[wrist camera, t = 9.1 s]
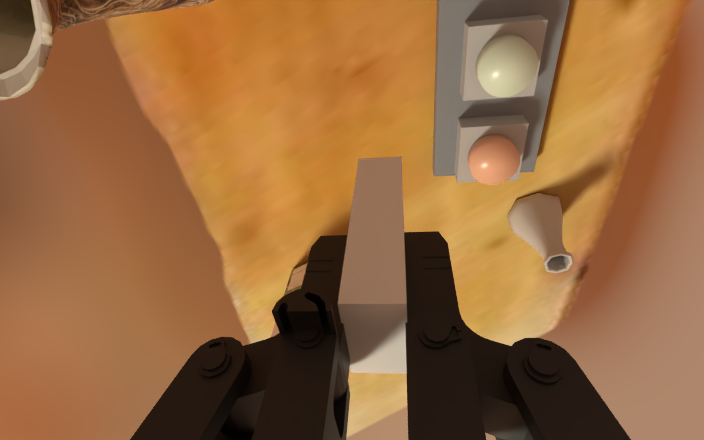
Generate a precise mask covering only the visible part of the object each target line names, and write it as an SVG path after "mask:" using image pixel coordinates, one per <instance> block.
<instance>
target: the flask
mask: <svg viewBox="0 0 704 440" xmlns="http://www.w3.org/2000/svg"><path fill="white" fill-rule="evenodd" d="M507 217H508V220H509V223H510V226H511V229H512V231H513V232H514V233H515V234H517V235H518V236H519V237H521V238H522V239H523V240H525V241H526V242H527V243H529V244H530V245H531V246H532V247H534V248H535V249H536V250H537V251H538V252H539V254H540V255H541V256H542V257H543V259H544V265H545V269H546V271H548V272H554V273H559V272H563V271H567V270H568V269H569V268H570V267H571V265H572V264H573V259H572V255H571V254H570V253H568V252H566V250H565V248H564V246H563V242H562V220H563V212H562V208H561V203H560V199H559V197H557V196H552V195H547V194H542V193H536V194H533V195H530V196H527V197H524V198H521V199H518V200H516V201H515V203H514V205H513V207H512V208H511V210H510V212H509V214H508V216H507Z"/></svg>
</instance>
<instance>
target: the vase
mask: <svg viewBox="0 0 704 440" xmlns="http://www.w3.org/2000/svg"><path fill="white" fill-rule="evenodd" d="M212 1H214V0H0V100H6V99H11V98H17V97H19V96H20V95H22V94H24V93H25V92H27V91H29V90H30V89H32V87H33V86H34V84H35V83H36V81H37V79H38V78H39V76H40V75H41V73H42V72H43V71H44V69H45V66H46V63H47V60H48V56H49V53H50V49H51V46H52V39H53V33H55V32H56V31H59V30H62V29H65V28H67V27H71V26H74V25H78V24H82V23H86V22H90V21H94V20H99V19H105V18H111V17H116V16H122V15H129V14H137V13H143V12H150V11H158V10H165V9H173V8H182V7H191V6H197V5H201V4H205V3H208V2H212Z"/></svg>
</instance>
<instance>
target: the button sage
mask: <svg viewBox="0 0 704 440" xmlns="http://www.w3.org/2000/svg"><path fill="white" fill-rule="evenodd" d="M537 68H538V57H537V53H536V51H535V49H534V48H533V47H532V46H531V45H530V44H529V43H528V42H527V41H526V40H524V39H523V38H522V37H520V36H517V35H512V34H507V35H502V36H498V37H496V38H494V39H492V40H491V41H490V42H488V43H487V44H486V45H485V46H484V47H483V49H482V50H481V51H480V53H479V55H478V57H477V61H476V66H475V70H476V76H477V78H478V80H479V82H480V84H481V85H482V87H483V89H484V90H485V91H486V92H487V93H489V94H490V95H493V96H496V97H509V96H513V95H515V94H517V93H519V92H521V91H522V90H524V89H525V88H526V87H527V86H528V85H529V84H530V83H531V81H532V80H533V78H534V76H535V74H536V72H537Z"/></svg>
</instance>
